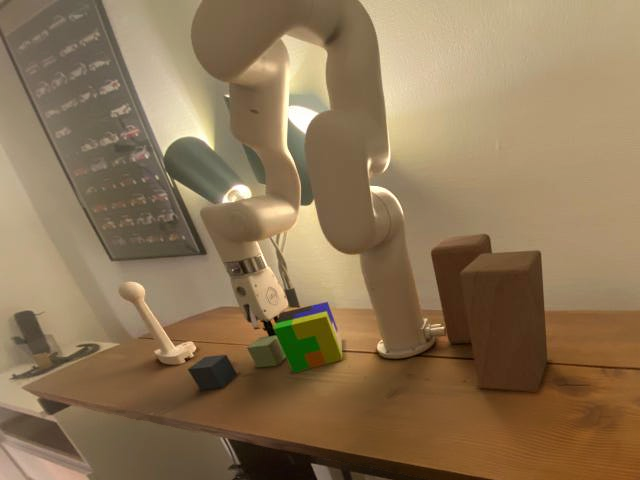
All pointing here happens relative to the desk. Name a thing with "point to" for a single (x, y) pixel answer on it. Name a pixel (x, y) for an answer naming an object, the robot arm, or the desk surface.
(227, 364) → the slate blue block
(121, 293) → the joystick
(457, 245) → the block
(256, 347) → the sage green block
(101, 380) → the desk surface
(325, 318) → the puzzle toy
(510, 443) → the desk surface
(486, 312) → the wooden block
